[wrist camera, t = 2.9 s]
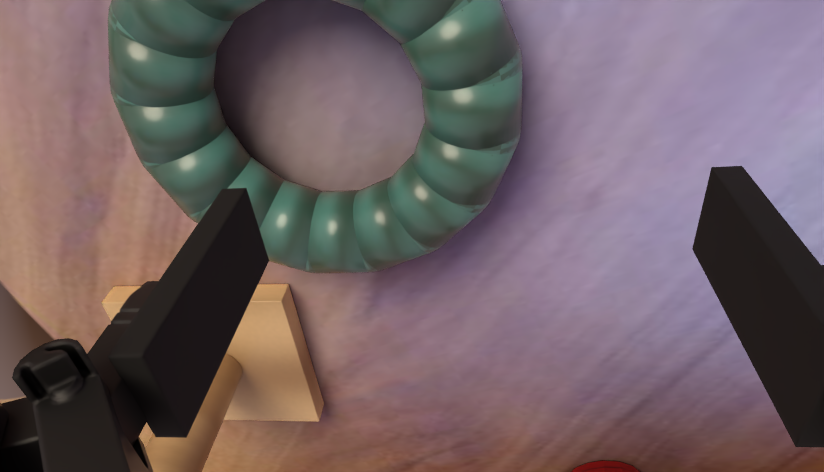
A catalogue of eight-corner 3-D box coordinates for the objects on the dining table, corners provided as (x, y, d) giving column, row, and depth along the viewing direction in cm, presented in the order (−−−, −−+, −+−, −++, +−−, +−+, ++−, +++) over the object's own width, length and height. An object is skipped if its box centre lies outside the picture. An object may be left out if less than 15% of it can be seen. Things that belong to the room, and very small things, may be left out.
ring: (70, -111, 22) (0, -99, 18) (522, -163, 19) (531, -159, 16) (207, 243, 32) (177, 291, 28) (516, 236, 29) (521, 287, 26)
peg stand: (113, 286, 34) (-5, 438, 26) (288, 283, 33) (223, 443, 24) (175, 401, 41) (97, 553, 32) (324, 403, 39) (282, 563, 31)
